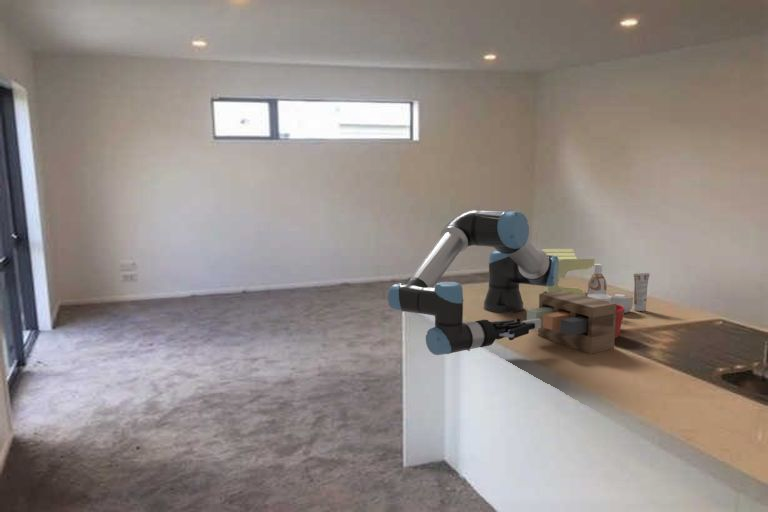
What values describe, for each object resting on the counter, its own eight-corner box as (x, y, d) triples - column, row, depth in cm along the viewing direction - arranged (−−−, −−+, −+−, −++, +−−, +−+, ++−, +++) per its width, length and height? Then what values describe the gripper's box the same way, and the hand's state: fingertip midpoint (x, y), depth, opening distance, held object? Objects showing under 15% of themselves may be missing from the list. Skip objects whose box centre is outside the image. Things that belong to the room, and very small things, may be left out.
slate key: (560, 332, 175) (560, 319, 175) (584, 327, 180) (584, 315, 180) (570, 335, 172) (571, 322, 171) (594, 330, 177) (595, 317, 176)
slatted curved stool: (536, 287, 269) (537, 248, 266) (571, 287, 269) (572, 248, 266) (553, 302, 240) (554, 259, 237) (592, 302, 239) (594, 259, 236)
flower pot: (580, 333, 196) (582, 304, 194) (606, 329, 200) (607, 301, 198) (604, 341, 186) (605, 311, 185) (630, 337, 190) (632, 308, 189)
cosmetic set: (639, 307, 230) (642, 259, 227) (655, 313, 221) (658, 263, 218) (581, 311, 225) (583, 262, 222) (594, 317, 216) (597, 266, 213)
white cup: (611, 327, 202) (613, 299, 201) (587, 326, 204) (588, 298, 202) (607, 321, 210) (609, 294, 208) (584, 320, 211) (585, 293, 210)
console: (538, 335, 193) (539, 293, 191) (560, 331, 198) (561, 290, 196) (590, 353, 174) (593, 307, 172) (614, 348, 179) (616, 303, 177)
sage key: (526, 322, 187) (527, 309, 187) (549, 317, 192) (550, 305, 192) (535, 324, 184) (535, 312, 183) (559, 320, 189) (559, 308, 188)
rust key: (542, 327, 181) (543, 314, 181) (566, 322, 186) (566, 310, 186) (552, 330, 178) (552, 317, 177) (576, 325, 183) (576, 313, 182)
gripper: (462, 341, 173) (524, 330, 184) (491, 353, 161) (554, 340, 173) (463, 316, 171) (524, 306, 183) (492, 326, 160) (555, 315, 171)
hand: (539, 323), depth 178 cm, fingers closed
